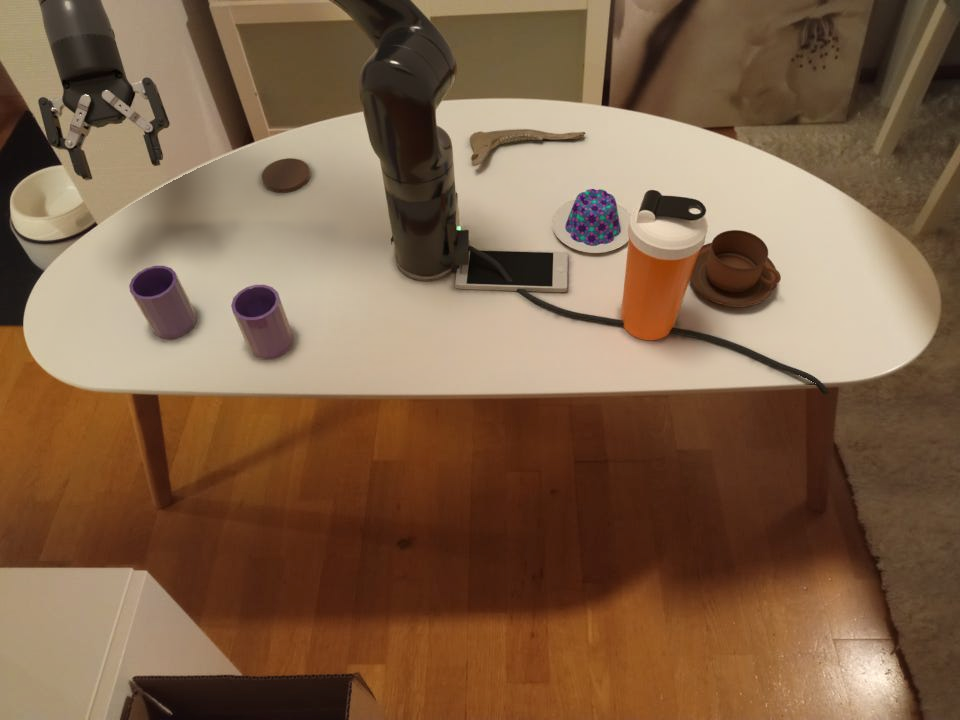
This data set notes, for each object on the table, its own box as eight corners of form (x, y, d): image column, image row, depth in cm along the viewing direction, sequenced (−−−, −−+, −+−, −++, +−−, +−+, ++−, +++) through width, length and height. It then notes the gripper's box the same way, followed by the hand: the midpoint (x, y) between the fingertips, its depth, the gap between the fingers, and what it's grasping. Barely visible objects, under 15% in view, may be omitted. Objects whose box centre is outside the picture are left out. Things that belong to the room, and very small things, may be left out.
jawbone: (452, 147, 126) (451, 135, 125) (561, 114, 131) (561, 103, 130) (474, 174, 120) (473, 163, 119) (587, 139, 125) (588, 128, 124)
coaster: (313, 161, 124) (312, 157, 123) (306, 192, 119) (305, 188, 119) (267, 162, 124) (266, 158, 124) (258, 193, 120) (257, 189, 119)
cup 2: (297, 325, 103) (283, 284, 96) (289, 359, 99) (274, 319, 93) (253, 325, 103) (237, 284, 97) (244, 359, 99) (226, 319, 93)
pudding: (535, 227, 113) (536, 199, 109) (590, 190, 118) (593, 162, 113) (595, 269, 107) (598, 242, 103) (650, 228, 112) (656, 200, 108)
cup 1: (201, 306, 105) (181, 265, 99) (190, 339, 102) (169, 299, 95) (159, 306, 106) (137, 265, 99) (147, 339, 102) (123, 299, 96)
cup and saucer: (775, 258, 107) (788, 225, 103) (772, 321, 100) (785, 289, 96) (689, 244, 110) (698, 212, 105) (680, 305, 103) (688, 273, 98)
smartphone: (566, 292, 105) (567, 288, 104) (455, 289, 106) (454, 284, 105) (567, 256, 109) (567, 251, 108) (460, 252, 110) (459, 248, 109)
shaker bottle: (679, 350, 98) (712, 236, 82) (610, 341, 99) (629, 226, 83) (682, 300, 103) (713, 183, 87) (616, 291, 105) (635, 175, 89)
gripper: (10, 44, 90) (54, 180, 92) (134, 21, 92) (173, 155, 95) (34, 62, 97) (74, 187, 100) (148, 40, 100) (184, 164, 102)
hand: (122, 171), depth 97 cm, fingers open, 8 cm apart
